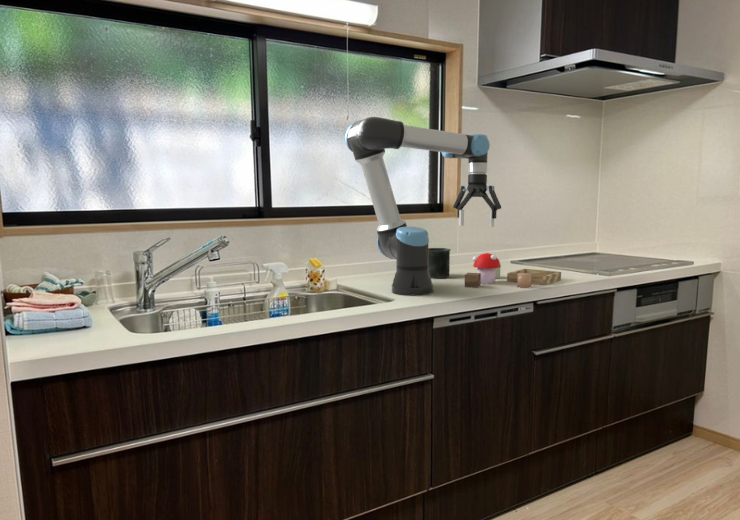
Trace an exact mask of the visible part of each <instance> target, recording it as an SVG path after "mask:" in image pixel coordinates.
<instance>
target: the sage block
mask: <svg viewBox="0 0 740 520" xmlns="http://www.w3.org/2000/svg"><path fill="white" fill-rule="evenodd" d="M495 271H496V277H495V280H497V279H501V267H499V268H495Z"/></svg>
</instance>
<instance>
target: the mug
mask: <svg viewBox="0 0 740 520" xmlns="http://www.w3.org/2000/svg"><path fill="white" fill-rule="evenodd" d="M450 251H451V248H446V247H428V272H429V275H430V278H431V279H448V278H449V277H450V265H451V264H450V257H451V256H450V255H451V253H450Z"/></svg>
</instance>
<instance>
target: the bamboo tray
mask: <svg viewBox="0 0 740 520" xmlns="http://www.w3.org/2000/svg"><path fill="white" fill-rule="evenodd" d="M518 273H529V274H531V285H538V284H539V285H540V286H548V285H551V284H553V283H556V282H558V280H559V281H561V280H562V272H561V271H557V270H556V271H554V270H545V269H534V268H533V269H532V268H522V269H518V270H514V271H511V272H507V273H506V282H512V283H517V282H518ZM555 281H556V282H555ZM547 284H548V285H547ZM539 285H538V286H539Z"/></svg>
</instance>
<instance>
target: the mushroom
mask: <svg viewBox="0 0 740 520" xmlns="http://www.w3.org/2000/svg"><path fill="white" fill-rule="evenodd" d="M472 261H473V265H472V267H474V268H477V269H476V273H481V285H492V284H495V281H496V279H495V277H496V271H495V268H499V267H500V268H502V266H501V265H502V264H501V262H500V259H499V258H498V257H497V256H496V254H492V253H488V252H486V253H482V254H479V255H478V256H477V255H475V256H473V257H472Z"/></svg>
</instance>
